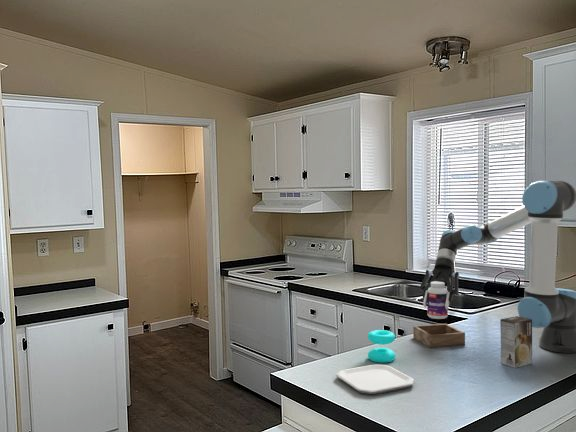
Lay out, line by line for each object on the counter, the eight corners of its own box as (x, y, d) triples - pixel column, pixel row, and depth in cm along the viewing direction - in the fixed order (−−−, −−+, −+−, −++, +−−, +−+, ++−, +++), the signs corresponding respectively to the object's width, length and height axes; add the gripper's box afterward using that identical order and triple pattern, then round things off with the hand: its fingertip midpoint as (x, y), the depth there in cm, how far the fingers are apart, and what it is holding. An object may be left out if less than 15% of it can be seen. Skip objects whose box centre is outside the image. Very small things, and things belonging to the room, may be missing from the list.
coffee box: (517, 359, 191) (517, 315, 190) (532, 364, 185) (533, 319, 184) (499, 363, 186) (499, 318, 186) (515, 368, 181) (515, 322, 180)
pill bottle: (426, 318, 212) (425, 283, 211) (428, 314, 219) (428, 280, 219) (446, 320, 209) (446, 284, 208) (448, 315, 216) (448, 281, 216)
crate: (465, 345, 208) (465, 332, 208) (430, 348, 205) (430, 335, 205) (446, 335, 223) (446, 323, 223) (413, 337, 220) (413, 326, 220)
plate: (364, 400, 157) (364, 392, 157) (331, 377, 176) (331, 371, 176) (420, 388, 165) (420, 381, 165) (383, 368, 184) (383, 362, 184)
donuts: (399, 335, 189) (373, 337, 187) (399, 362, 189) (373, 364, 187) (388, 328, 198) (363, 330, 196) (388, 354, 199) (364, 356, 197)
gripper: (471, 268, 221) (463, 314, 208) (422, 265, 232) (411, 309, 219) (468, 257, 216) (460, 304, 203) (419, 255, 227) (408, 299, 214)
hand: (435, 306), depth 211 cm, fingers closed on pill bottle, 8 cm apart
